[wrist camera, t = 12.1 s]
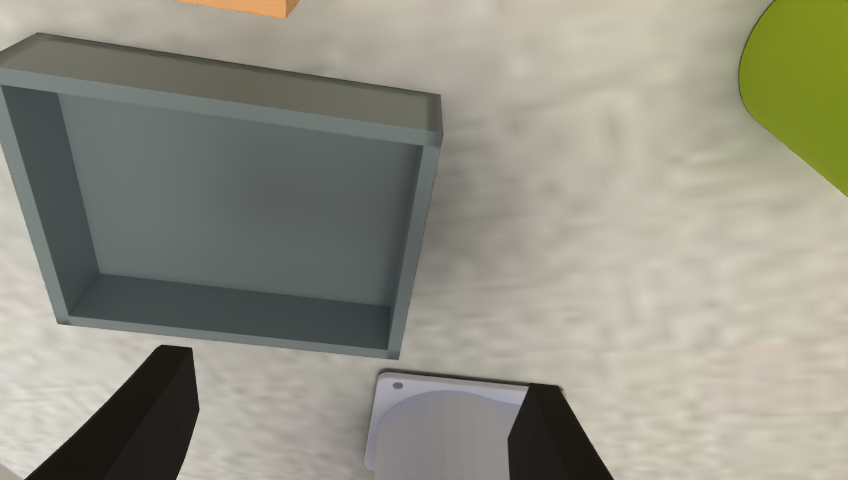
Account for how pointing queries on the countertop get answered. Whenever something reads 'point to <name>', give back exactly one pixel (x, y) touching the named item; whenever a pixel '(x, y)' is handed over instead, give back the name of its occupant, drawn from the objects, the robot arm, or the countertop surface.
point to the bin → (218, 195)
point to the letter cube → (252, 6)
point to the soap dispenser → (802, 81)
